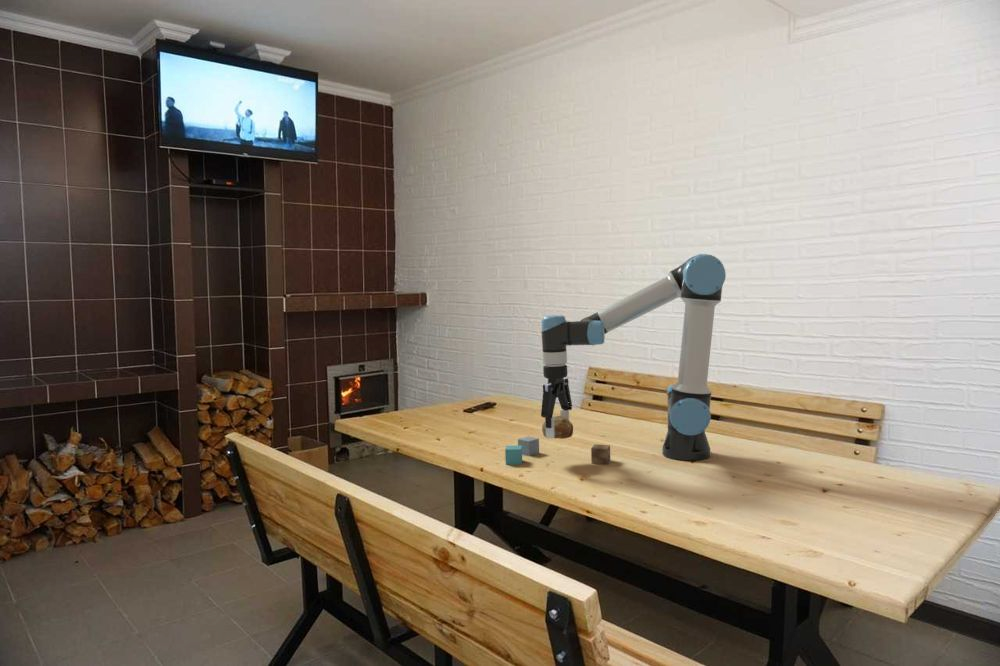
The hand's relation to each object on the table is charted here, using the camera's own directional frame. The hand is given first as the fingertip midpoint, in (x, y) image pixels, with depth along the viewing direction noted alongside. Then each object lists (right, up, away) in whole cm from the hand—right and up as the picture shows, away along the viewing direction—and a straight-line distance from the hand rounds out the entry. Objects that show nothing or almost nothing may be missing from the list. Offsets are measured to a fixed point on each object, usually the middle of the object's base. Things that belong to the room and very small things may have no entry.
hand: (558, 433), depth 223 cm
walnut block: (+14, -9, +1) cm, 17 cm away
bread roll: (0, -1, 0) cm, 1 cm away
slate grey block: (-9, -9, +14) cm, 19 cm away
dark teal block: (-14, -10, +3) cm, 17 cm away
